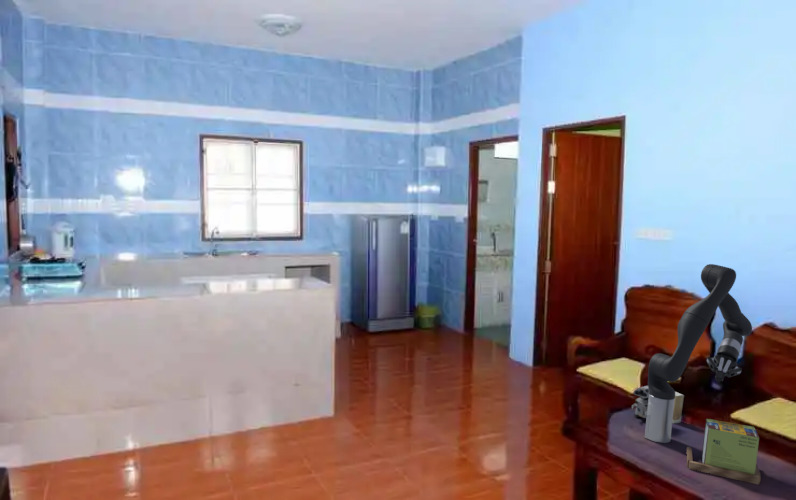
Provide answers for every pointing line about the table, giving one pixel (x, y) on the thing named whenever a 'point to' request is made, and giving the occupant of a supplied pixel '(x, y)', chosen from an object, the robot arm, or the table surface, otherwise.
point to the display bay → (722, 470)
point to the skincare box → (677, 407)
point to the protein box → (730, 446)
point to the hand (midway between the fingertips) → (718, 379)
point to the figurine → (641, 402)
